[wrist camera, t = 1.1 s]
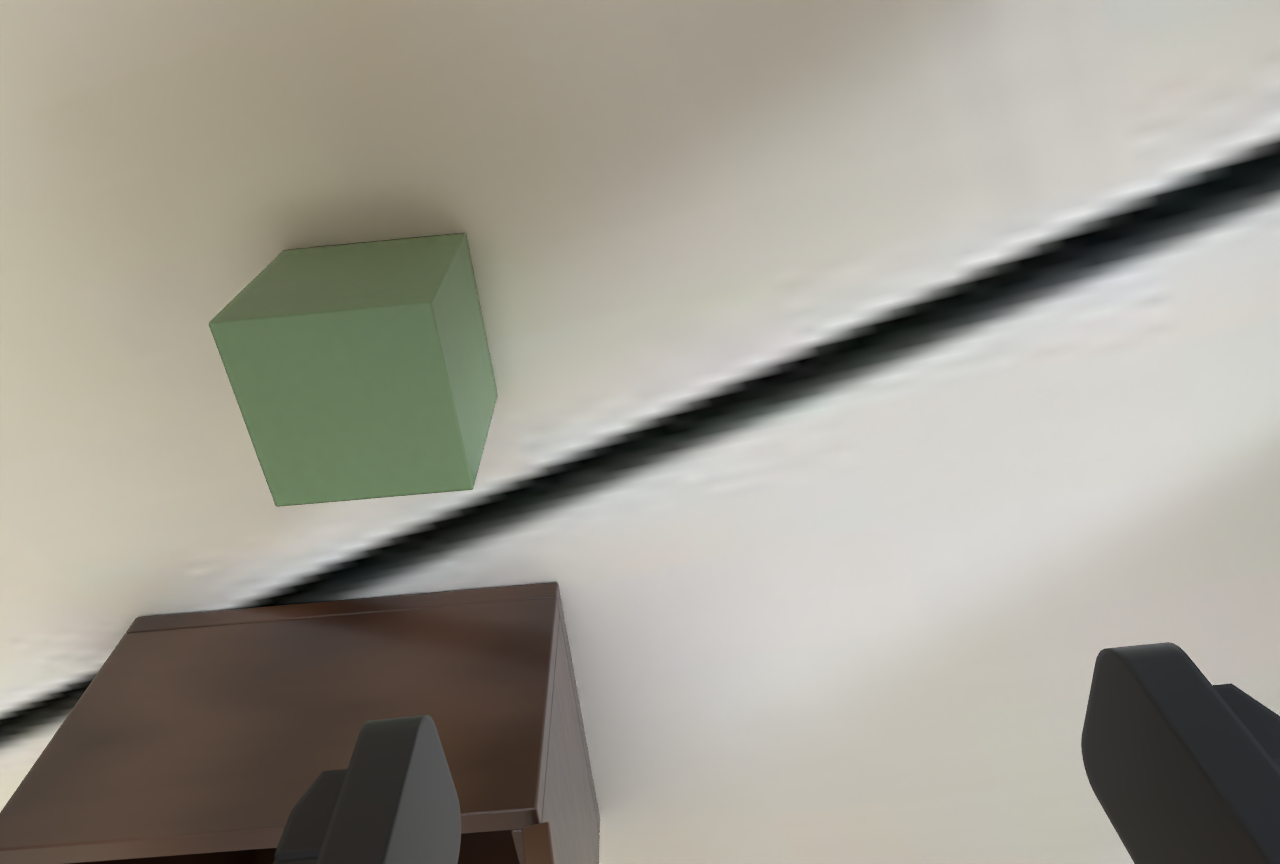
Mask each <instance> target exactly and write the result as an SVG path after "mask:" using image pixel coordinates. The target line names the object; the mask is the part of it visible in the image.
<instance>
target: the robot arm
mask: <svg viewBox="0 0 1280 864" xmlns="http://www.w3.org/2000/svg"><path fill="white" fill-rule="evenodd" d="M1081 746H1082V756H1083V762H1084V766H1085V770H1086V773H1087V776H1088V779H1089V782H1090V784H1091V787H1092V789H1093V791H1094V793H1095V795H1096V797H1097V798H1098V800H1099V802H1100V804H1101V805H1102V807H1103V809H1104V811H1105V812H1106V814H1107V816H1108V818H1109V819H1110V821H1111V823H1112V825H1113V826H1114V828H1115V830H1116V832H1117V833H1118V835H1119V837H1120V839H1121V840H1122V842H1123V844H1124V846H1125V847H1126V849H1127V851H1128V853H1129V854H1130V856H1131V858H1132V860H1133V861H1134V863H1135V864H1280V716H1279V715H1277V714H1276V713H1274V712H1273V711H1271V710H1270V709H1268V708H1267V707H1265V706H1264V705H1262V704H1261V703H1259V702H1258V701H1256V700H1255V699H1253V698H1252V697H1250V696H1249V695H1247V694H1246V693H1245V692H1243V691H1242V690H1240V689H1239V688H1237V687H1236V686H1234V685H1233V684H1223V685H1213V686H1212V685H1211V683H1210V682H1209V681H1208V680H1207V679H1206V677H1205V676H1204V675H1203V674H1202V672H1201V671H1200V670H1199V669H1198V668H1197V666H1196V665H1195V664H1194V663H1193V661H1192V660H1191V659H1190V658H1189V657H1188V655H1187V654H1186V653H1185V652H1184V651H1183V650H1182V649H1181V648H1180V647H1178V646H1177V645H1175V644H1173V643H1169V642H1168V643H1158V644H1148V645H1138V646H1128V647H1118V648H1108V649H1103V650H1101V651H1100V653H1099V654H1098V656H1097V659H1096V663H1095V668H1094V674H1093V679H1092V684H1091V690H1090V695H1089V700H1088V706H1087V711H1086V717H1085V722H1084V727H1083V733H1082V742H1081ZM460 843H461V813H460V804H459V799H458V795H457V792H456V788H455V785H454V782H453V779H452V776H451V773H450V770H449V766H448V763H447V760H446V757H445V754H444V751H443V748H442V744H441V741H440V738H439V735H438V732H437V729H436V726H435V723H434V721H433V719H432V718H431V716H429V715H421V716H411V717H401V718H391V719H381V720H371V721H367V722H366V723H365V724H364V725H363V727H362V728H361V730H360V733H359V735H358V738H357V741H356V744H355V747H354V750H353V754H352V757H351V760H350V763H349V766H348V769H340V770H330V771H322V773H321V774H320V775H319V776H318V778H317V779H316V780H315V781H314V783H313V784H312V785H311V786H310V788H309V789H308V790H307V791H306V793H305V794H304V795H303V796H302V798H301V799H300V800H299V801H298V803H297V804H296V805H295V806H294V808H293V809H292V810H291V812H290V815H289V817H288V820H287V823H286V825H285V828H284V831H283V833H282V836H281V839H280V841H279V844H278V846H277V849H276V852H275V854H274V855H275V861H274V863H271V864H458V858H459V852H460Z"/></svg>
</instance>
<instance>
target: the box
mask: <svg viewBox="0 0 1280 864" xmlns="http://www.w3.org/2000/svg"><path fill="white" fill-rule="evenodd" d="M421 715H429V716H431V718H432V719H433V721H434V723H435V726H436V729H437V732H438V735H439V738H440V741H441V744H442V748H443V751H444V754H445V757H446V760H447V763H448V766H449V770H450V773H451V776H452V779H453V782H454V785H455V788H456V792H457V795H458V799H459V804H460V813H461V843H460V852H459V858H458V864H525V860H524V849H523V837H522V828H523V827H526V826H531V825H535V824H539V823H543V822H549V823H550V826H551V831H552V835H553V840H554V844H555V849H556V853H557V858H558V862H559V864H599V839H600V835H599V833H600V816H599V810H598V805H597V799H596V793H595V788H594V782H593V777H592V771H591V765H590V760H589V754H588V749H587V743H586V737H585V732H584V726H583V721H582V715H581V709H580V704H579V698H578V693H577V687H576V681H575V676H574V670H573V665H572V659H571V653H570V648H569V642H568V636H567V631H566V625H565V620H564V614H563V608H562V603H561V597H560V592H559V586H558V583H556V582H554V583H542V584H530V585H518V586H506V587H494V588H482V589H470V590H458V591H447V592H435V593H423V594H411V595H399V596H387V597H375V598H363V599H351V600H339V601H327V602H315V603H303V604H291V605H279V606H268V607H256V608H244V609H232V610H220V611H208V612H196V613H184V614H172V615H160V616H148V617H138V618H136V619H135V621H134V622H133V624H132V625H131V626H130V628H129V629H128V631H127V634H125V635H124V636H123V638H122V639H121V641H120V642H119V643H118V645H117V646H116V648H115V649H114V651H113V652H112V653H111V655H110V656H109V658H108V659H107V661H106V662H105V663H104V665H103V666H102V668H101V669H100V671H99V672H98V674H97V675H96V676H95V678H94V679H93V681H92V682H91V684H90V685H89V686H88V688H87V689H86V691H85V692H84V694H83V695H82V696H81V698H80V699H79V701H78V702H77V704H76V705H75V706H74V708H73V709H72V711H71V712H70V714H69V715H68V717H67V718H66V719H65V721H64V722H63V724H62V725H61V727H60V728H59V729H58V731H57V732H56V734H55V735H54V737H53V738H52V739H51V741H50V742H49V744H48V745H47V747H46V748H45V750H44V751H43V752H42V754H41V755H40V757H39V758H38V760H37V761H36V762H35V764H34V765H33V767H32V768H31V770H30V771H29V772H28V774H27V775H26V777H25V778H24V780H23V781H22V782H21V784H20V785H19V787H18V788H17V790H16V791H15V793H14V794H13V795H12V797H11V798H10V800H9V801H8V803H7V804H6V805H5V807H4V808H3V810H2V811H1V813H0V864H271V863H274V861H275V855H274V854H275V852H276V849H277V846H278V844H279V841H280V839H281V836H282V833H283V831H284V828H285V825H286V823H287V820H288V817H289V815H290V812H291V810H292V809H293V808H294V806H295V805H296V804H297V803H298V801H299V800H300V799H301V798H302V796H303V795H304V794H305V793H306V791H307V790H308V789H309V788H310V786H311V785H312V784H313V783H314V781H315V780H316V779H317V778H318V776H319V775H320V774H321V773H322V771H330V770H340V769H348V766H349V763H350V760H351V757H352V754H353V750H354V747H355V744H356V741H357V738H358V735H359V733H360V730H361V728H362V727H363V725H364V724H365V723H366V722H367V721H371V720H381V719H391V718H401V717H411V716H421Z"/></svg>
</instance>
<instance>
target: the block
mask: <svg viewBox="0 0 1280 864" xmlns="http://www.w3.org/2000/svg"><path fill="white" fill-rule="evenodd" d="M209 326H210V329H211V331H212V334H213V337H214V340H215V342H216V345H217V348H218V351H219V353H220V356H221V359H222V361H223V364H224V367H225V370H226V372H227V375H228V378H229V380H230V383H231V386H232V389H233V391H234V394H235V397H236V399H237V402H238V405H239V408H240V410H241V413H242V416H243V418H244V421H245V424H246V427H247V429H248V432H249V435H250V437H251V440H252V443H253V446H254V448H255V451H256V454H257V456H258V459H259V462H260V465H261V467H262V470H263V473H264V475H265V478H266V481H267V484H268V486H269V489H270V492H271V494H272V497H273V500H274V503H275V505H276V506H290V505H301V504H313V503H324V502H336V501H347V500H359V499H370V498H382V497H393V496H405V495H416V494H428V493H439V492H450V491H462V490H472V489H473V487H474V484H475V480H476V476H477V472H478V468H479V464H480V461H481V457H482V453H483V449H484V445H485V441H486V437H487V434H488V430H489V426H490V422H491V418H492V414H493V411H494V407H495V403H496V399H497V390H496V385H495V380H494V375H493V370H492V365H491V360H490V355H489V350H488V345H487V339H486V334H485V329H484V324H483V319H482V314H481V309H480V304H479V299H478V294H477V288H476V283H475V278H474V273H473V268H472V263H471V258H470V253H469V248H468V243H467V237H466V234H465V233H460V234H450V235H440V236H429V237H419V238H408V239H398V240H387V241H377V242H366V243H356V244H345V245H335V246H324V247H314V248H303V249H293V250H284V251H283V252H281V253H280V254H279V255H278V256H277V257H276V258H275V259H274V260H273V261H272V262H271V263H270V264H269V265H268V266H267V267H266V268H265V269H264V270H263V271H262V272H261V273H260V274H259V275H258V276H257V277H256V278H255V279H254V280H253V281H252V282H251V283H250V284H248V285H247V286H246V287H245V288H244V289H243V290H242V291H241V292H240V293H239V294H238V295H237V296H236V297H235V298H234V299H233V300H232V301H231V302H230V303H229V304H228V305H227V306H226V307H225V308H224V309H223V310H222V311H221V312H220V313H219V314H218V315H216V316H215V317H214V318H213V319H212V320H211V321H210V322H209Z"/></svg>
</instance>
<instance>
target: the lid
mask: <svg viewBox="0 0 1280 864" xmlns="http://www.w3.org/2000/svg"><path fill="white" fill-rule="evenodd" d="M522 837H523V849H524V860H525V864H559V862H558V858H557V853H556V849H555V844H554V840H553V835H552V831H551V826H550V823H549V822H543V823H539V824H535V825H531V826H526V827H523V828H522Z"/></svg>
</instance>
